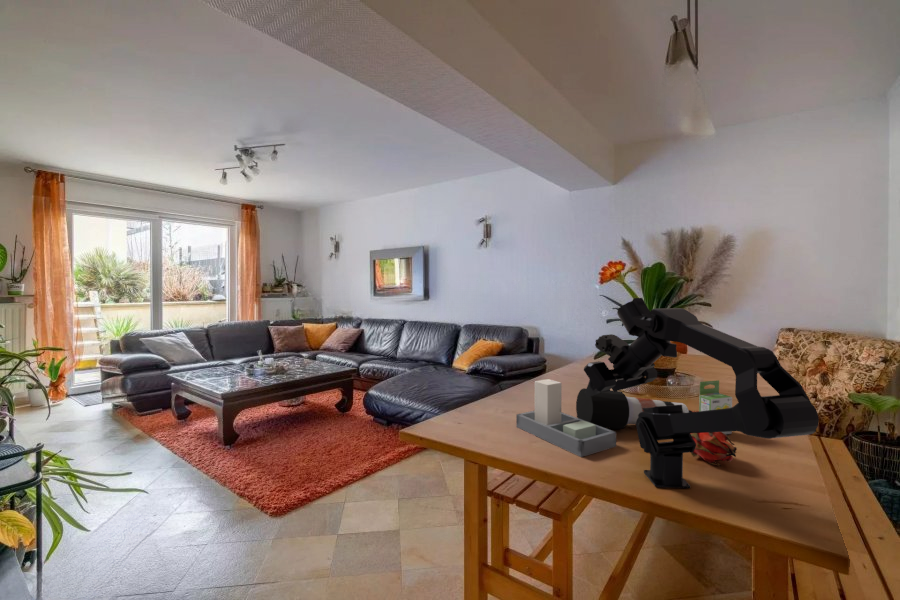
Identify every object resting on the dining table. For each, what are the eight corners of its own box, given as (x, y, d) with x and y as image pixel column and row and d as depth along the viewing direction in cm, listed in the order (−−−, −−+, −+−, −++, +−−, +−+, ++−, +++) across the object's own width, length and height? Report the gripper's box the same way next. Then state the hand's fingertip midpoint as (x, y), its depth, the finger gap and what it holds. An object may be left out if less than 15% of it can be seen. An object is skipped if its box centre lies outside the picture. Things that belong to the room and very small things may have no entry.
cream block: (561, 426, 109) (561, 382, 109) (547, 430, 107) (547, 385, 106) (548, 421, 113) (548, 379, 113) (534, 424, 111) (534, 381, 110)
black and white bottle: (702, 442, 112) (718, 415, 107) (584, 435, 108) (596, 406, 104) (681, 415, 121) (696, 389, 116) (572, 407, 117) (583, 380, 112)
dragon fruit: (688, 453, 97) (732, 484, 86) (666, 436, 95) (707, 466, 84) (710, 425, 97) (756, 452, 86) (688, 408, 95) (733, 433, 83)
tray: (616, 446, 98) (616, 428, 98) (580, 457, 92) (581, 437, 92) (548, 419, 118) (548, 404, 118) (516, 426, 112) (516, 410, 112)
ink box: (711, 437, 104) (712, 385, 103) (697, 431, 108) (698, 381, 107) (732, 434, 106) (733, 383, 105) (718, 429, 109) (719, 379, 109)
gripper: (646, 321, 96) (606, 360, 106) (590, 326, 87) (553, 368, 96) (678, 360, 89) (633, 398, 99) (622, 369, 80) (579, 410, 90)
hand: (600, 392), depth 96 cm, fingers open, 9 cm apart
